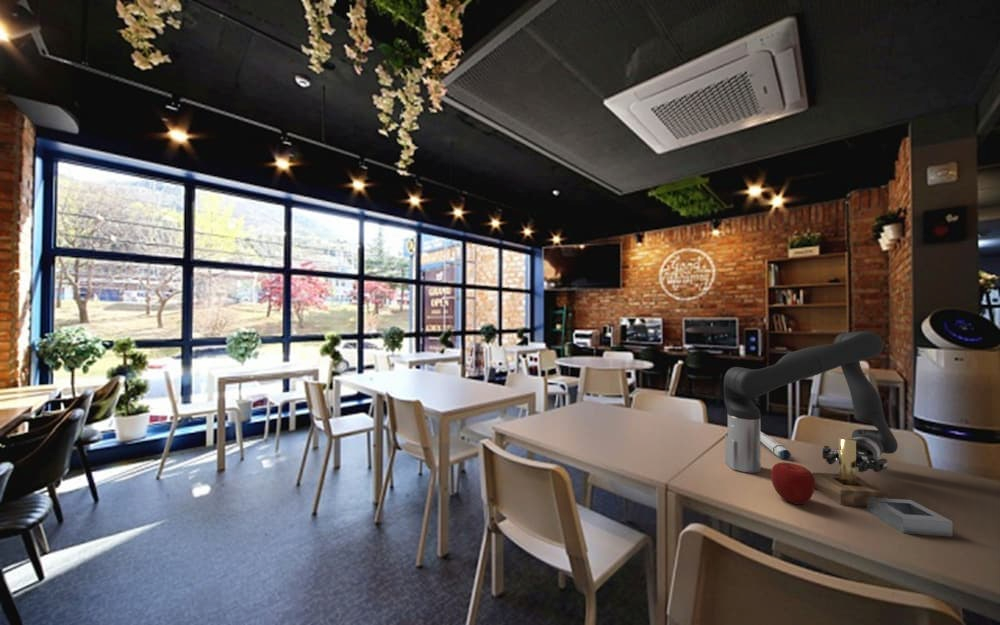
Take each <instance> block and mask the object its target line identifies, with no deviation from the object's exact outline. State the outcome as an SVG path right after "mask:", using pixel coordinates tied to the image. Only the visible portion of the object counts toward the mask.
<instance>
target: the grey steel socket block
mask: <svg viewBox="0 0 1000 625" xmlns="http://www.w3.org/2000/svg"><path fill="white" fill-rule="evenodd" d="M866 511H867V512H868V513H870V514H872V515H873V516H876V517H877V518H878V519H880V520H882V521H883V522H884V523H886V524H888V525H890V526H891V527H892V528H894V529H896V530H897V531H899V532H900V533H902V534H910V535H924V536H938V537H950V538H951V537H952V538H953V530H954V529H953V527H954V525H953V521H952V520H951V519H948V518H947V517H945V516H943V515H941V514H939V513H937V512H936V511H933V510H931V509H930V508H927V507H926V506H923V505H922V504H919V503H918V502H915V501H914V500H912V499H901V498H888V497H887V498H871V497H867V506H866Z"/></svg>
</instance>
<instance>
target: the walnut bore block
mask: <svg viewBox="0 0 1000 625" xmlns="http://www.w3.org/2000/svg"><path fill="white" fill-rule="evenodd" d="M811 473H812V475H813V476H814V480H815V489H816V490H818V491H820V493H823V494H824V495H826V496H827V497H828V498H830V499H832V500H833V501H834V502H836V503H838V504H839V505H840V506H844V505H845V506H857V507H858V506H859V507H860V506H861V507H867V497H871V498H887V499H888V496H887V495H888V492H887V491H886V490H883V489H881V488H880V487H878V486H876V485H874V484H871V483H870V482H868V481H866V480H864V479H863V478H861V477H859V476H857V475H856V486H849V485H843V484H842V483H840V482H839V473H830V472H829V473H828V472H812V471H811Z"/></svg>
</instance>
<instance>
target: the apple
mask: <svg viewBox="0 0 1000 625" xmlns="http://www.w3.org/2000/svg"><path fill="white" fill-rule="evenodd" d="M770 477H771V478H770V479H771V482H772V486H773V488H774V489H775V491H776V493H777V495H779V497H781V498H782V499H783V500H785V501H787V502H789V503H791V504H795V505H804V504H806V503H807V502H809V501H810V499H812V496H813V494H814V491H815V489H816V488H815V480H814V476H813V475H812V471H810V470H809V469H808V468H806V467H804V466H802V465H799V464H795V463H792V462H778V463H775V464H774V465H773V467H772V468H771V471H770Z"/></svg>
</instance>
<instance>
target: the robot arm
mask: <svg viewBox="0 0 1000 625" xmlns="http://www.w3.org/2000/svg"><path fill="white" fill-rule="evenodd" d="M884 346H885V344H884V340H883V339H882V338H881V336H879V335H878V334H876V333H874V332H870V331H866V330H865V331H852V332H845V333H840V334H838V335H837V336H836V337H835V338H834V341H833V343H829V344H827V343H826V344H821V345H816V346H815V345H814V346H810V347H809V346H808V347H805V348H801V349H797V350H794V351H791V352H789V353H786V354H785V355H783V356H781V358H779V360H778V361H777V362H776V363H774V364H773V365H770V366H766V367H763V368H759V369H758V368H757V369H751V368H745V367H740V366H733V367H730V368H729V369H728V370H727V371H726V372H725V375H724V377H723V394H724V395H723V396H724V405H725V407H726V410H727V435H725V436H724V461H725V462H724V463H725V464H726V465H727V466H728V467H730V469H731V470H734V471H739V472H742V473H743V472H744V473H750V474H754V473H760V472H761V466H762V463H761V460H762V458H761V457H762V456H761V454H762V453H761V452H762V451H761V445H762V444H761V441H760V431H761V410H760V408H759V407H758V406H756V405H755V403H754V402H753V400H752V398H753V399H754V398H757V397H761V396H763V395H765V394H767V393H769V392H772V391H774V390H776V389H778V388H781V387H784V386H787V385H789V384H793V383H795V382H799V381H802V380H806V379H808V378H812V377H815V376H819V375H820V374H822V373H823V374H824V373H826V372H829V371H832V370H834V369H837V368H839V367H840V368H841V371H842V373H843V375H844V378H845V380H846V383H847V387H848V390H849V393H850V398H851V404H852V408H853V414H854V418H855V419H856V421H859V422H860V423H861V422H862V423H866V424H869V425H872V426H874V427H875V428H876V429H866V428H857V429H854V430H852V433H851V439H854V440H856V468H858V473H859V472H860V473H863V472H867V471H870V470H873V472H874V473H875V472H876V473H880V472H883V471H886V470H888V459H886V458H879V457H880V456H881V455H882V454H888V455H889V454H894V453H896V452H897V450H898V446H899V444H898V441H897V438H896V437H895V435H894V433H893V432H892V431H891V428H890V427H889V425H888V422H887V420H886V418H885V414H884V410H883V409H884V408H883V404H882V403H883V402H882V400H881V396H880V394H879V393H878V390H877V389H876V388H875V386H874V385H873V384H872V382H870V380H869V379H868V378H867V375H865V373H864V372H863V369H862V366H861V361H864V360H868V359H869V360H870V359H874V358H876V357H877V356H879V355H880V354H881V353H882V352H883V350H884ZM822 459H824V460H825V461H826V462H827V463H828V465H833V464H835V463H836V462H837V463H839V448H836V449H832V447H830V446H828V445H824V446H823V448H822Z"/></svg>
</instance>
